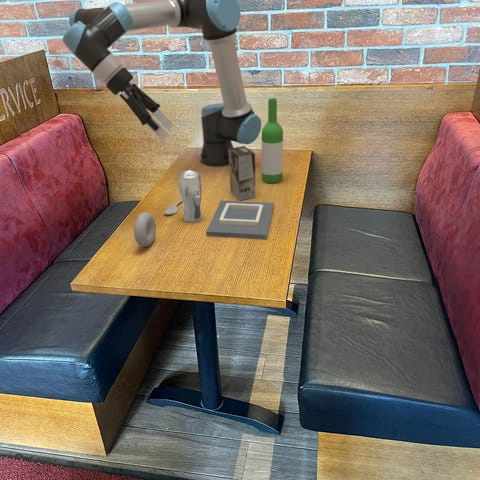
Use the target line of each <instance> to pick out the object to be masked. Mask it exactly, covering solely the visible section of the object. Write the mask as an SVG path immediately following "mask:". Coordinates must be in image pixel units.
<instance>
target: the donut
mask: <svg viewBox="0 0 480 480" xmlns="http://www.w3.org/2000/svg"><path fill="white" fill-rule="evenodd" d="M156 228H157V226H156V221H155V217H154V216H153V215H152V214H151V212H146V211H145V212H141V213H140V214H139V215H138V216H137V218H136V219H135V223H134V226H133V235H134V239H135V242H136V244H137V245H138V246H140V247H141V248H146V247H149V246H150V245H151V244H152V243H153V241H154V240H155V236H156V230H157V229H156Z"/></svg>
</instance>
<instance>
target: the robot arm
mask: <svg viewBox="0 0 480 480" xmlns="http://www.w3.org/2000/svg"><path fill="white" fill-rule="evenodd" d="M241 17H242V16H241V6H240V4H239V2H238V0H153V1H145V2H137V3H128V4H127V3H126V4H122V3H121V2H119V1H114V2H112V3H111V4H109V5H108V6H102V7H101V6H100V7H92V8H77V9H74V10H73V11H72V12H71V13H70V14H69V17H68V25H69V28H68V29H67V30H65V33H64V34H63V36H62V42H63V44H64V45H65V46H66V48H67V49H68V50H69V51H70V52H71V53H72V55H73V56H75V57H76V58H77V59H78V61H80V62H81V63H82V64H83V65H84V66H85V67H86V68H87V69H88V70H89V71H90V72H91V73H92V74H93V75H94V79H95V80H99V81H100V82H101V83H102V84H105V87H106V88H107V89H108V90H109V91H110V93H112V95H114V96H116V95H118V94H119V93H120V92H121V93H120V94H119V97H120V98H121V99H122V100H123V101H124V102H125V104H126V105H128V107H129V108H130V110H131V111H132V112H133V114H134V115H135V117H137V119H138V120H139V121H140V124H141V125H142V126H145V125H146V126H148V128H149V129H150V130H151V131H152V132H154V134H155V135H156V136H157V137H158V138H159V139H160V140H161V141H165V140H166V139H167V138H169V136H170V135H171V133H170V132H169V130H171V128H173V127H174V125H175V123H174V122H173V121H172V120H171V119H170V118H169V116H168V115H166V113H164V111H163V110H162V109H161V108H160V107H161V105H160V103H157V102H156V101H155V100H154V99H152V98H151V97H150V96H149V95H147V94H146V92H144V91H143V90H142V89H141V88H140V87H139V86H138V85H137V84H136V83H134V82H133V83H131V81H132V80H133V78H134V76H133V74H132V73H131V72H130V71H129V70H128V69H127V68H126V67H123V63H121V61H119V59H117V57H116V56H115V55H114V54H113V53H112V52H111V51H110V50H109V48H111V46H113V45H114V44H115V43H116V42H117V41H118V40H119V39H120V38H122V37H123V36H124V35H125V34H127V32H133V31H140V30H145V29H146V30H147V29H154V28H160V27H166V26H168V27H169V28H171V29H174V28H175V29H176V28H187V29H193V30H194V29H195V30H201V34H202V37H203V40H204V41H205V42H207V43H208V44H209V47H210V52H211V55H212V60H213V64H214V68H215V73H216V77H217V81H218V86H219V90H220V93H221V98H222V101H223V102H222V103H214V104H213V103H212V104H207V105H205V106H203V107H202V109H201V111H200V112H201V117H200V118H201V128H202V129H201V130H202V140H203V141H202V142H203V143H202V147H201V152H200V163H202V164H203V165H206V166H210V167H211V166H212V167H220V166H221V167H222V166H227V165H228V166H229V149H231V148H235V147H234V146H233V142H234V143H235V142H236V143H238V144H241V145H242V144H243V145H251V144H252V143H254V142H255V141H256V140H257V139H258V138H259V136H260V133H261V132H262V119H261V117H260V116H259V115H257V114H255V113H254V110H253V106H252V104H251V103H250V102H248V101H247V97H246V96H247V94H246V90H245V86H244V82H243V81H244V80H243V75H242V73H241V67H240V62H239V57H238V52H237V45H236V42H235V35H236V34H237V32H238V31H237V29H238V28H237V27H238V26H239V23H240V19H241ZM150 113H152V115H151V114H150Z"/></svg>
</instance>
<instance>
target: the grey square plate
mask: <svg viewBox="0 0 480 480" xmlns="http://www.w3.org/2000/svg"><path fill="white" fill-rule="evenodd" d="M274 207H275V203H274V202H268V201H267V202H266V201H265V202H263V201H262V202H261V201H245V200H222V199H221V200H220V201H219V203H218V206H217V207H216V210H215V212H214V214H213V217H212V218H211V219H210V220H211V221H210V223H209V225H208V227H207V228H206V231H205V236H207V237H219V238H235V239H237V238H238V239H251V240H252V239H254V240H257V239H258V240H267V238H268V233H269V229H270V225H271V221H272V217H273V213H274V209H275V208H274Z"/></svg>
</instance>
